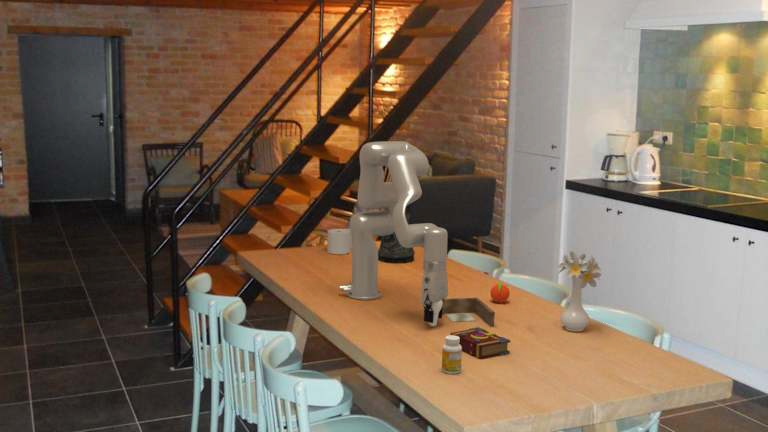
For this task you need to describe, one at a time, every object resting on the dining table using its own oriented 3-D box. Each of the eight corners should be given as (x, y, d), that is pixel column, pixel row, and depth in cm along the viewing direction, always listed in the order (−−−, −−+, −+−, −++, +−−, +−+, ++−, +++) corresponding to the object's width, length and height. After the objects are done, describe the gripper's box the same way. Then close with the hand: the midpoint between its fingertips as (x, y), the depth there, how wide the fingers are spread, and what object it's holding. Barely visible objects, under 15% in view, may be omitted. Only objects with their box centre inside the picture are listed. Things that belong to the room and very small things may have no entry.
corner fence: (441, 329, 273) (441, 314, 272) (426, 313, 290) (427, 299, 290) (494, 326, 277) (494, 312, 276) (476, 311, 294) (477, 297, 293)
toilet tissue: (324, 253, 383) (324, 232, 381) (330, 248, 394) (331, 227, 393) (347, 255, 381) (348, 233, 379) (353, 249, 392) (353, 228, 391)
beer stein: (414, 264, 365) (416, 207, 361) (370, 263, 366) (371, 206, 361) (414, 256, 382) (415, 201, 378) (371, 255, 382) (372, 200, 378)
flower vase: (574, 339, 265) (579, 262, 261) (544, 323, 282) (548, 250, 278) (610, 336, 269) (615, 260, 265) (578, 320, 286) (582, 248, 282)
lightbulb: (444, 324, 277) (444, 292, 275) (439, 330, 272) (439, 297, 270) (426, 322, 279) (427, 290, 277) (421, 328, 274) (421, 295, 271)
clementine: (508, 306, 302) (509, 287, 301) (489, 305, 303) (489, 285, 302) (509, 300, 309) (510, 281, 308) (490, 299, 311) (491, 280, 310)
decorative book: (480, 360, 244) (480, 344, 244) (446, 345, 258) (447, 329, 257) (509, 354, 250) (510, 338, 250) (475, 339, 264) (476, 324, 263)
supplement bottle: (440, 367, 237) (441, 334, 235) (459, 367, 238) (460, 334, 236) (443, 374, 232) (444, 340, 230) (462, 374, 232) (463, 340, 231)
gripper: (431, 272, 263) (430, 328, 266) (457, 262, 277) (455, 315, 280) (411, 268, 267) (409, 324, 270) (437, 259, 281) (435, 312, 284)
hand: (433, 319), depth 275 cm, fingers closed on lightbulb, 5 cm apart
